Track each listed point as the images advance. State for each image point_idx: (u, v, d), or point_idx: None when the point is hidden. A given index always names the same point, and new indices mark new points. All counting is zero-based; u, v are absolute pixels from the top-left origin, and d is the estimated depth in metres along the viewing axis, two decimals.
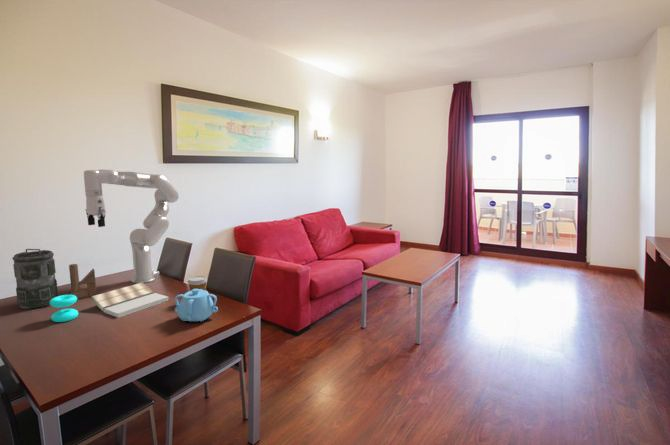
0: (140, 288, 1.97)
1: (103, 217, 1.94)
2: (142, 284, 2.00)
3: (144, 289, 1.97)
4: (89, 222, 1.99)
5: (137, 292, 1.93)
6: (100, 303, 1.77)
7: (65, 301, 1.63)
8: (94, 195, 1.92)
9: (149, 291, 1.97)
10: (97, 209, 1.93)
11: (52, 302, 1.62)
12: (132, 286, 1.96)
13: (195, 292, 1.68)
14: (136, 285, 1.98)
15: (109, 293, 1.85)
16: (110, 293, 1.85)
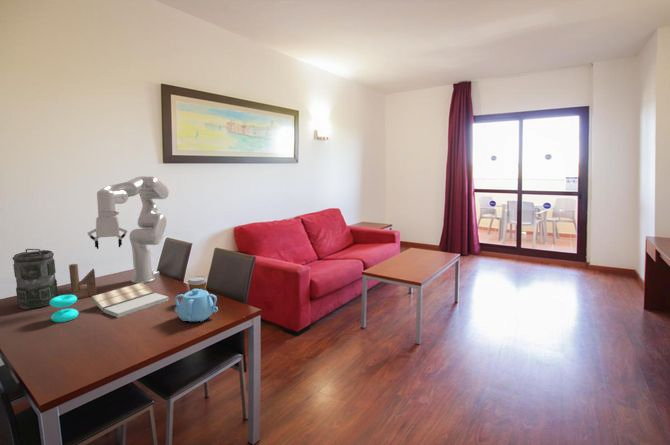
0: (140, 288, 1.97)
1: None
2: (142, 284, 2.00)
3: (144, 289, 1.97)
4: None
5: (137, 292, 1.93)
6: (100, 303, 1.77)
7: (65, 301, 1.63)
8: (114, 215, 1.89)
9: (149, 291, 1.97)
10: (119, 229, 1.91)
11: (52, 302, 1.62)
12: (132, 286, 1.96)
13: (195, 292, 1.68)
14: (136, 285, 1.98)
15: (109, 293, 1.85)
16: (110, 293, 1.85)
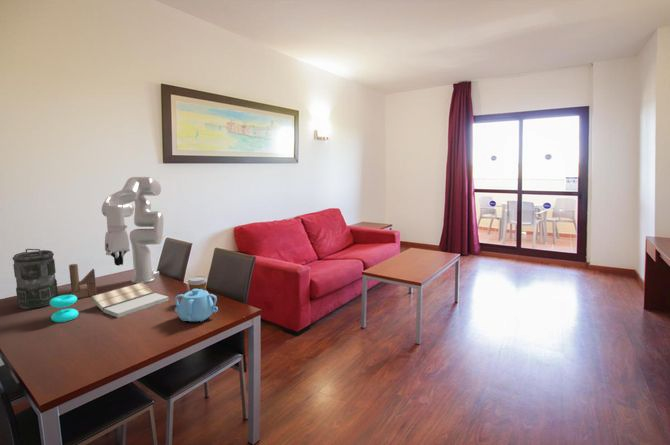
0: (140, 288, 1.97)
1: None
2: (142, 284, 2.00)
3: (144, 289, 1.97)
4: None
5: (137, 292, 1.93)
6: (100, 303, 1.77)
7: (65, 301, 1.63)
8: None
9: (149, 291, 1.97)
10: None
11: (52, 302, 1.62)
12: (132, 286, 1.96)
13: (195, 292, 1.68)
14: (136, 285, 1.98)
15: (109, 293, 1.85)
16: (110, 293, 1.85)
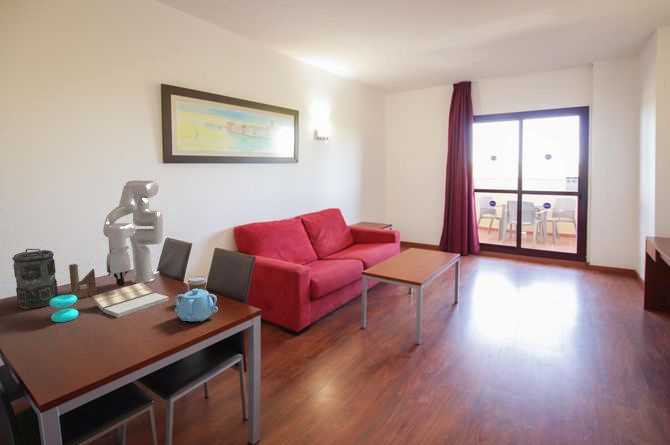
0: (140, 288, 1.97)
1: None
2: (142, 284, 2.00)
3: (144, 289, 1.97)
4: None
5: (137, 292, 1.93)
6: (100, 303, 1.77)
7: (65, 301, 1.63)
8: (126, 250, 1.89)
9: (149, 291, 1.97)
10: None
11: (52, 302, 1.62)
12: (132, 286, 1.96)
13: (195, 292, 1.68)
14: (136, 285, 1.98)
15: (109, 293, 1.85)
16: (110, 293, 1.85)
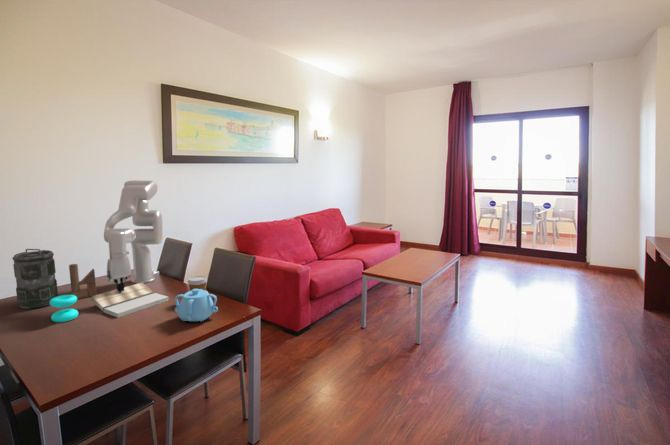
0: (140, 288, 1.97)
1: None
2: (142, 284, 2.00)
3: (144, 289, 1.97)
4: None
5: (137, 292, 1.93)
6: (100, 303, 1.77)
7: (65, 301, 1.63)
8: (126, 255, 1.89)
9: (149, 291, 1.97)
10: None
11: (52, 302, 1.62)
12: (132, 286, 1.96)
13: (195, 292, 1.68)
14: (136, 285, 1.98)
15: (109, 293, 1.85)
16: (110, 293, 1.85)
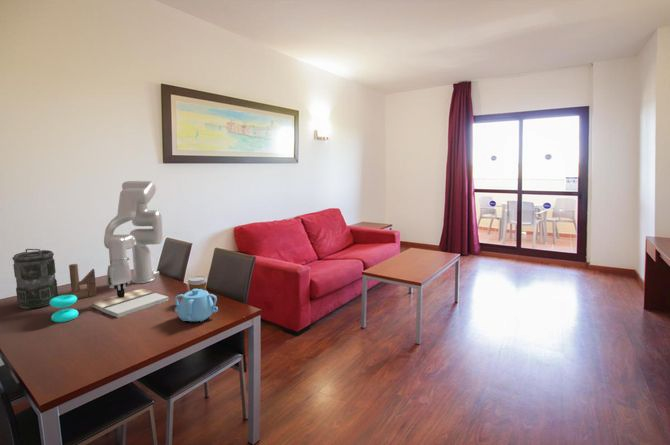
0: (140, 292, 1.97)
1: None
2: (142, 289, 2.01)
3: (144, 292, 1.97)
4: (121, 294, 1.89)
5: (137, 294, 1.93)
6: (100, 305, 1.78)
7: (65, 301, 1.63)
8: None
9: (149, 292, 1.97)
10: None
11: (52, 302, 1.62)
12: (132, 291, 1.97)
13: (195, 292, 1.68)
14: (136, 290, 1.98)
15: (109, 299, 1.86)
16: (110, 299, 1.86)
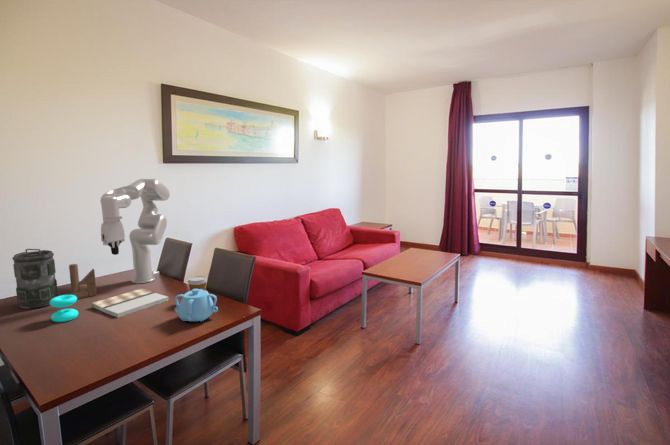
0: (140, 292, 1.97)
1: None
2: (142, 289, 2.01)
3: (144, 292, 1.97)
4: None
5: (137, 294, 1.93)
6: (100, 305, 1.78)
7: (65, 301, 1.63)
8: None
9: (149, 292, 1.97)
10: None
11: (52, 302, 1.62)
12: (132, 292, 1.97)
13: (195, 292, 1.68)
14: (136, 290, 1.98)
15: (109, 299, 1.86)
16: (110, 299, 1.86)
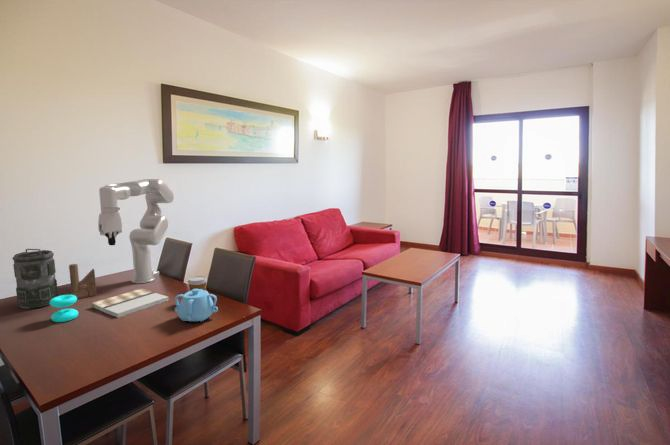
0: (140, 292, 1.97)
1: None
2: (142, 289, 2.01)
3: (144, 292, 1.97)
4: (112, 242, 1.95)
5: (137, 294, 1.93)
6: (100, 305, 1.78)
7: (64, 301, 1.63)
8: (117, 211, 1.95)
9: (149, 292, 1.97)
10: None
11: (52, 302, 1.62)
12: (132, 292, 1.97)
13: (195, 292, 1.68)
14: (136, 290, 1.98)
15: (109, 299, 1.86)
16: (110, 299, 1.86)
